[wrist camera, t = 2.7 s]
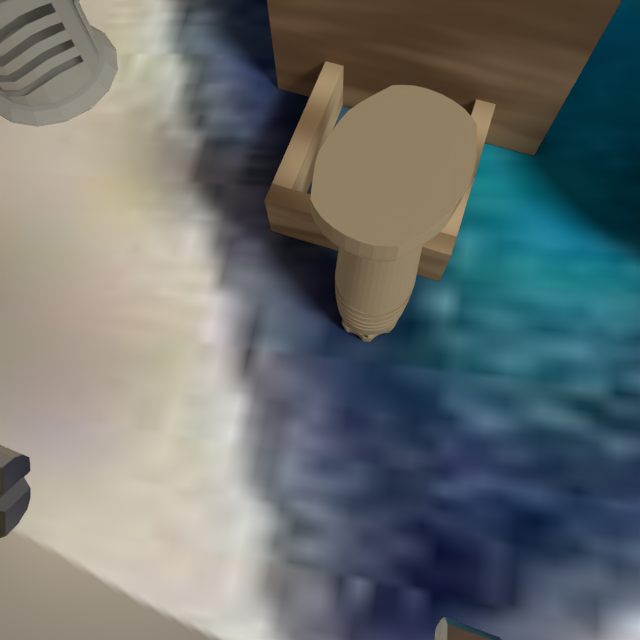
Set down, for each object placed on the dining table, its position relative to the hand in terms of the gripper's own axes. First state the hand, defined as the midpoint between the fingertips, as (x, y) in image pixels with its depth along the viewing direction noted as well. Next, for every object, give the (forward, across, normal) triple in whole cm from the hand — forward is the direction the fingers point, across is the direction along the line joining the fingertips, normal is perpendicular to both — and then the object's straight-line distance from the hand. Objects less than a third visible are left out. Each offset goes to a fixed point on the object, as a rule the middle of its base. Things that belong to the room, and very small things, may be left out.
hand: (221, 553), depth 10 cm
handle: (+22, 0, +5) cm, 23 cm away
